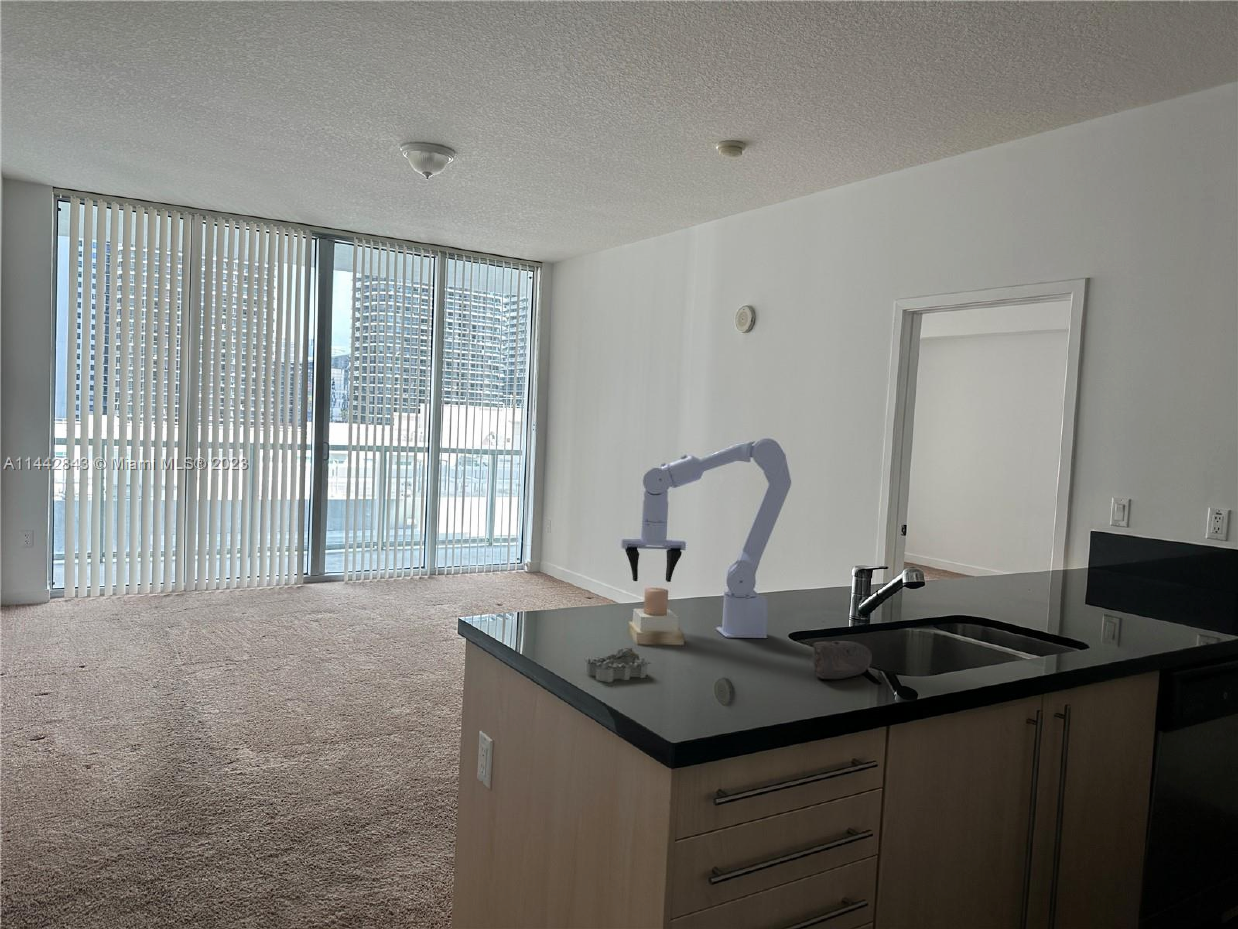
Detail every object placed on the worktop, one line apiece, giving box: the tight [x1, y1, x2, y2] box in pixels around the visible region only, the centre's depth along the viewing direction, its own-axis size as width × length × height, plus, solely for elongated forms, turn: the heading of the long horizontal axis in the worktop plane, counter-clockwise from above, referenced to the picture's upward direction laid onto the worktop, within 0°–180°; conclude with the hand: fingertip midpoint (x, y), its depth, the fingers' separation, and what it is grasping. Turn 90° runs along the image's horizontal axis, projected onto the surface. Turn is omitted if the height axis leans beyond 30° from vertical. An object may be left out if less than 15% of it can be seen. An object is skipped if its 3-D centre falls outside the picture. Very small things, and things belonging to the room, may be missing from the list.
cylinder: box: [643, 587, 669, 616], centre depth 175 cm, size 5×5×5 cm
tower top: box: [632, 608, 679, 632], centre depth 176 cm, size 8×8×3 cm
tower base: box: [627, 621, 685, 646], centre depth 176 cm, size 10×10×3 cm
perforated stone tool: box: [811, 640, 873, 680], centre depth 154 cm, size 15×5×7 cm, turn 119°
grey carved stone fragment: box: [583, 647, 652, 683], centre depth 147 cm, size 11×8×4 cm
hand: (651, 580), depth 186 cm, fingers open, 7 cm apart
